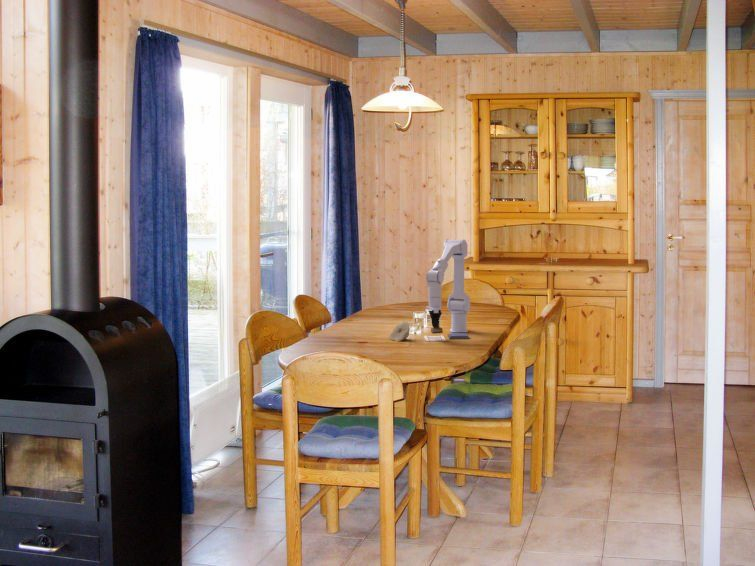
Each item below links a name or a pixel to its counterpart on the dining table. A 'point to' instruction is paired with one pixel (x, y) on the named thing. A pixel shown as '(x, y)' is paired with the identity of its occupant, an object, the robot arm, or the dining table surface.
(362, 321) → the dining table surface
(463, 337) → the ink pad
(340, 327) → the dining table surface
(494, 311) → the dining table surface
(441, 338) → the sheet
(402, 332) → the stone
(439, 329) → the stamp
